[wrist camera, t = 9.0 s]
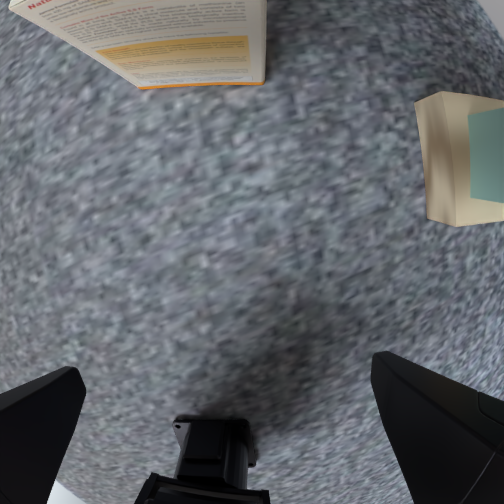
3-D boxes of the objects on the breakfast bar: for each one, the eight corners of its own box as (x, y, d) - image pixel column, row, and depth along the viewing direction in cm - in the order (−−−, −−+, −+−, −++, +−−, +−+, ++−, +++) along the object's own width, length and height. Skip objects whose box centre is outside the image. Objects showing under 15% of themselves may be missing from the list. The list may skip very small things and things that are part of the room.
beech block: (500, 209, 19) (532, 216, 15) (424, 217, 19) (456, 227, 15) (490, 111, 17) (522, 104, 13) (411, 103, 17) (441, 91, 13)
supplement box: (267, 24, 16) (274, -126, 3) (264, 88, 17) (272, -51, 4) (145, 30, 16) (46, -79, 3) (136, 91, 17) (1, 11, 5)
